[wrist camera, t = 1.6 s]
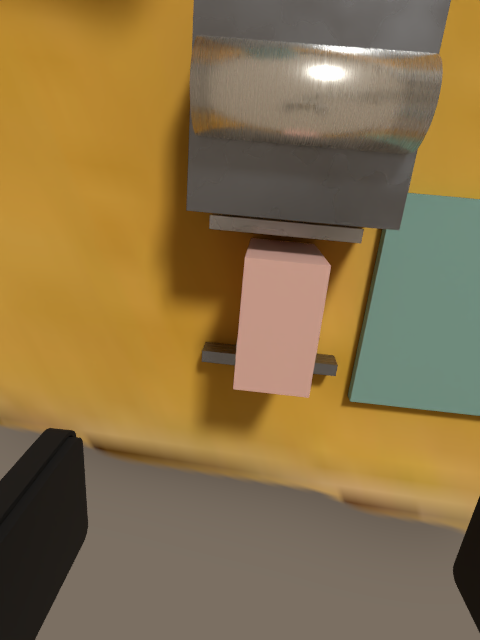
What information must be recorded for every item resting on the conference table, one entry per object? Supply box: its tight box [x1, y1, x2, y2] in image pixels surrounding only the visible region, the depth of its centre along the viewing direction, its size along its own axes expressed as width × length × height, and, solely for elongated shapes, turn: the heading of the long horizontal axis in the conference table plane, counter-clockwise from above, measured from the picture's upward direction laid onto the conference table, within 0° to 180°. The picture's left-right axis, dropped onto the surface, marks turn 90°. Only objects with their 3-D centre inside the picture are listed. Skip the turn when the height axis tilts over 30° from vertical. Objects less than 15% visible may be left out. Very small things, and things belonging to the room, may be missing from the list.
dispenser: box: [186, 0, 451, 376], centre depth 20 cm, size 10×20×8 cm, turn 175°
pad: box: [348, 193, 480, 416], centre depth 25 cm, size 12×14×1 cm
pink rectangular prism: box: [233, 238, 331, 398], centre depth 22 cm, size 4×7×7 cm, turn 175°
